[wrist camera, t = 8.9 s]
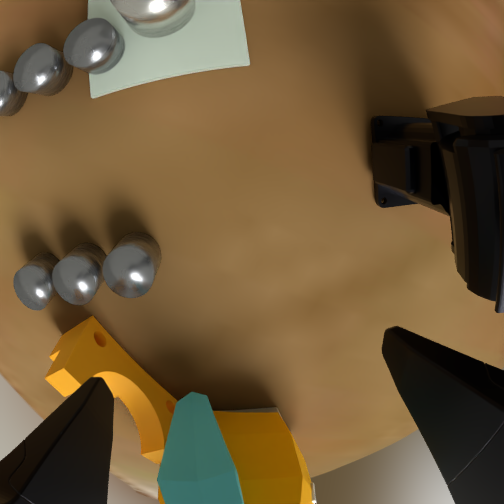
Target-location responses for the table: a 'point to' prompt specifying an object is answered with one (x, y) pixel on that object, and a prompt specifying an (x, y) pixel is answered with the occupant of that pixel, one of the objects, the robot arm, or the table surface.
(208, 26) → the sage mat
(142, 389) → the pipe clamp
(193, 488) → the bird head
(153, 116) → the table surface
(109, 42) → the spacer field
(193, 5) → the stepped steel cylinder
